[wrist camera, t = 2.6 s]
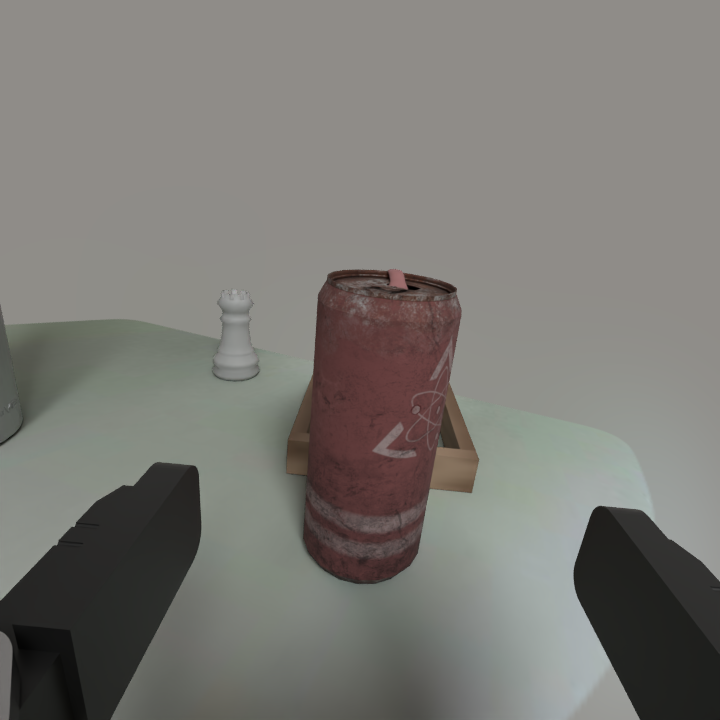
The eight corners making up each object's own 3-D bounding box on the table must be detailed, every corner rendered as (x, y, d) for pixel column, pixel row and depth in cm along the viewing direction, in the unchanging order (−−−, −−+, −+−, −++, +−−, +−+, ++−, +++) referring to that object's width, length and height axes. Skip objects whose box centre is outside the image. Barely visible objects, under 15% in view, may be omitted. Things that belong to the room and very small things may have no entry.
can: (406, 501, 26) (443, 271, 21) (428, 590, 20) (487, 300, 15) (306, 497, 26) (320, 260, 21) (299, 588, 20) (317, 286, 15)
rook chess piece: (239, 361, 45) (238, 285, 42) (269, 374, 42) (270, 294, 39) (202, 372, 41) (199, 290, 38) (232, 386, 39) (231, 300, 36)
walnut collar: (286, 473, 28) (287, 439, 27) (313, 394, 39) (314, 369, 38) (471, 492, 28) (479, 459, 27) (444, 408, 39) (449, 383, 38)
